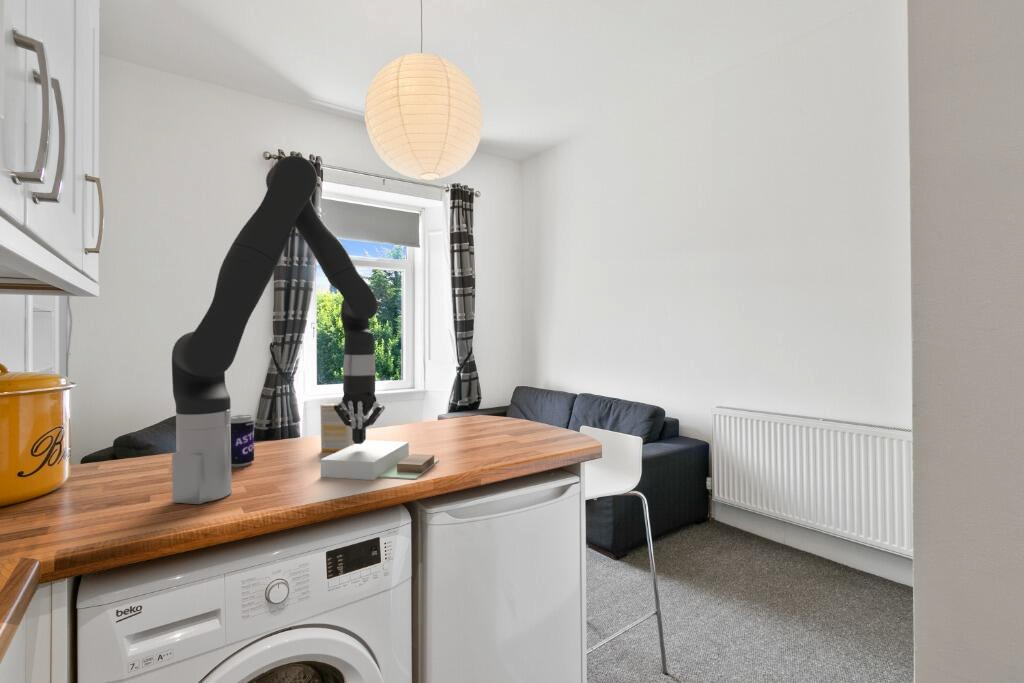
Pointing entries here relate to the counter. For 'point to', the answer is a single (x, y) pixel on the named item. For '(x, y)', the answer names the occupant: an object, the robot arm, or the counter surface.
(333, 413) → the supplement box
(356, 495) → the counter surface
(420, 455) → the brown wooden block
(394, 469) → the mat
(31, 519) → the counter surface
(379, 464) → the white flat block
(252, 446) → the beverage can
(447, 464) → the counter surface
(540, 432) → the counter surface
